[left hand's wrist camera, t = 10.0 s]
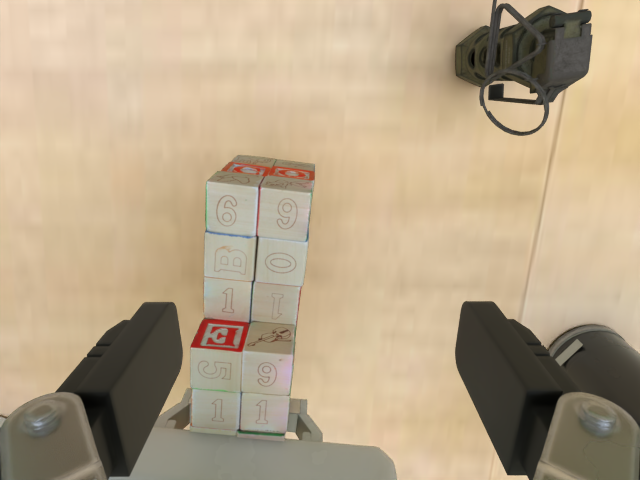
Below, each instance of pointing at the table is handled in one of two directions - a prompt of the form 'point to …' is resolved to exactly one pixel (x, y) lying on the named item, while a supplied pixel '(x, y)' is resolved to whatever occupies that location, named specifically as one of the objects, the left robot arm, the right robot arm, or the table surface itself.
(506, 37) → the grenade
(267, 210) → the stack of blocks
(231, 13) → the table surface
